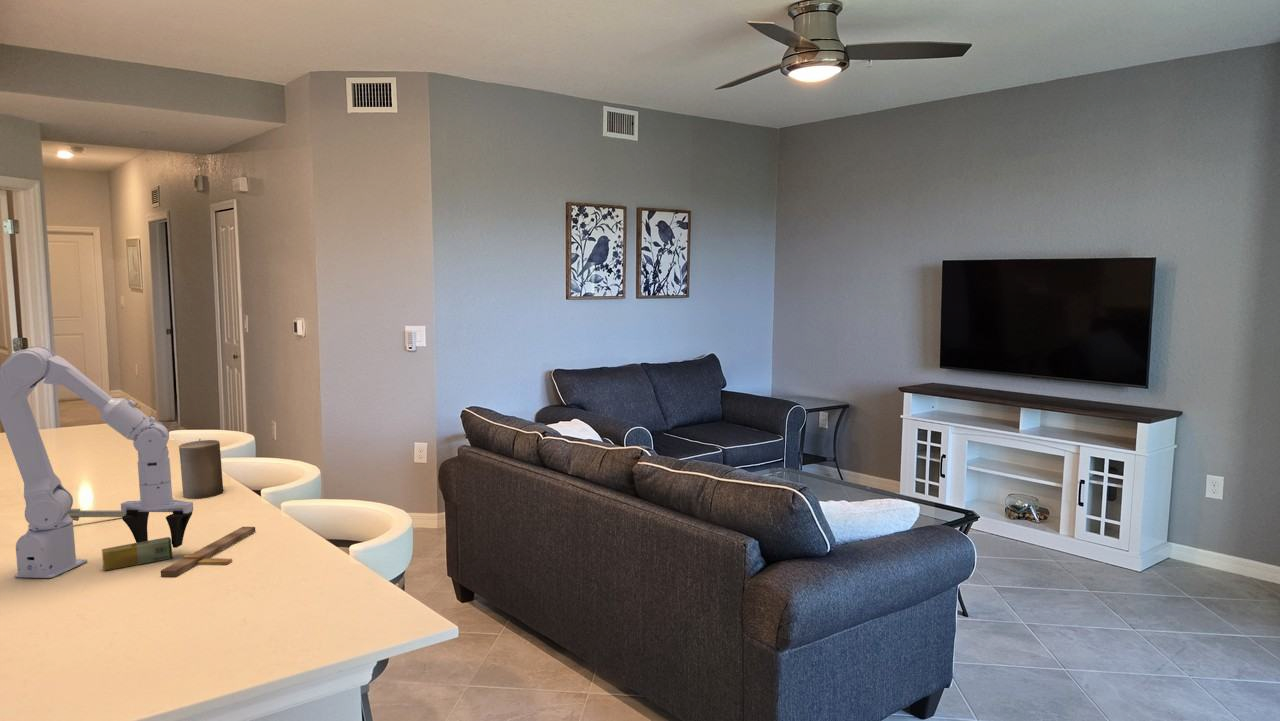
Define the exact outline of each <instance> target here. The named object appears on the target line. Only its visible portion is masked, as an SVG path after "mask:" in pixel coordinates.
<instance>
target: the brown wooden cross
mask: <svg viewBox="0 0 1280 721" xmlns="http://www.w3.org/2000/svg"><path fill="white" fill-rule="evenodd" d="M253 532H255V533H256V527H255V526H241V527H239V528H237V529H235V530H234V531H232V532H230V533H228V534H226V535H224V536H222V537H221V538H219V539H216V540H215V541H214V542H211V543H210V544H208V545H205V546H204V547H202V548H200V549H198V550H196V551H194V552H192V553H188V554H185V555H183V557H182V558H181V559H179V560H178V561H176V562H174V563H172V564H171V565H168V566H166V567H165V568H163V569H160V577H161V578H177V577H178V576H180V575H182V574H184V573H186V572H187V571H189V570H190V568H191V569H192V567H193V568H195V565H196V566H198V565H202V564H215V565H214V566H217V565H216V564H223V565H222V566H228V565H229V564H231V563H233V558H223V557H222V558H220V557H219V558H218V557H217V558H214V556H216V555H217V554H219V553H221V552H222V550H223V549H225V548H226V549H228V548H230V547H231V546H230V545H232V544H233V545H235V544H237V543H238V542H237V541H239V540H240V541H242V540H243V538H244V539H246V538H247V537H246V536H248V535H249V536H251V535H253V534H254V533H253ZM252 533H253V534H252ZM250 534H251V535H250ZM249 536H248V537H249ZM245 537H246V538H245ZM241 539H242V540H241ZM240 541H239V542H240ZM236 542H237V543H236ZM234 543H235V544H234ZM233 545H232V546H233ZM229 546H230V547H229ZM227 547H228V548H227ZM226 549H225V550H226ZM220 551H221V552H220ZM223 551H224V550H223ZM218 552H219V553H218ZM216 553H217V554H216ZM215 554H216V555H215ZM213 555H214V556H213ZM211 556H212V557H211ZM209 557H210V558H209ZM230 562H231V563H230ZM228 563H229V564H228ZM197 564H198V565H197ZM185 571H186V572H185ZM183 572H184V573H183Z"/></svg>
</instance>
